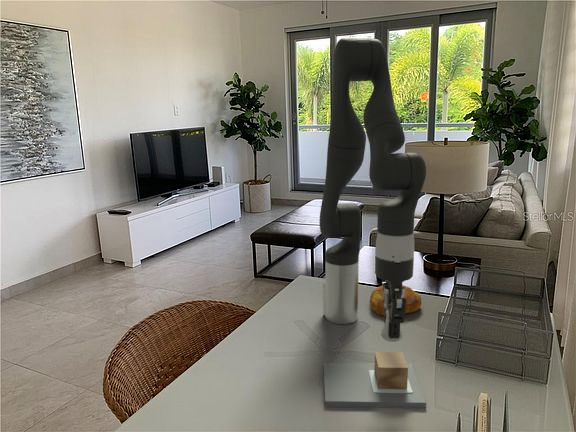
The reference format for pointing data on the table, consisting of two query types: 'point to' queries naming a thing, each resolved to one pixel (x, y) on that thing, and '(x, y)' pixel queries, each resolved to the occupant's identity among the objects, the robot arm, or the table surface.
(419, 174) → the robot arm
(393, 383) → the walnut block
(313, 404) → the table surface
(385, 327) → the rook chess piece
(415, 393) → the board
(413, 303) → the croissant
